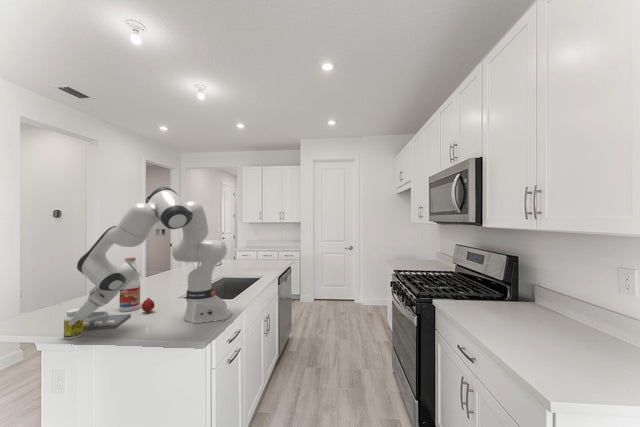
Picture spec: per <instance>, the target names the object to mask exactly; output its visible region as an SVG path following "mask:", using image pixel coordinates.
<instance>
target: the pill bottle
mask: <svg viewBox="0 0 640 427" xmlns="http://www.w3.org/2000/svg"><path fill="white" fill-rule="evenodd" d="M79 309H80V308H73V309H69V310H67V311H66V316H65V317H64V319H63V338H64V340H73V339H76V338H79V337H81V336H83V335H84V330H83V320H78V321H77V322H76V323H74V324H73V325H72V326H70V325H68V322H69V321H71V320H72V319H73V318H74V317H75V316H74V315H75V313H76V312H77V311H78V310H79Z"/></svg>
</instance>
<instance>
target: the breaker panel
mask: <svg viewBox="0 0 640 427" xmlns="http://www.w3.org/2000/svg"><path fill="white" fill-rule="evenodd" d="M131 317H132V314H131V313H126V314H124V313H123V314H108V319H106V320H105V321H103V322H102V321H96V322H95V323H94V324H90V322H84V323H83V331H94V330H95V331H96V330H98V331H99V330H111V329H112V330H113V329H115V330H116V329H117V328H119V327H120V326H121V325H123V324H124V323H125V322H126V321H128V320H129V319H130V318H131Z"/></svg>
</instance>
